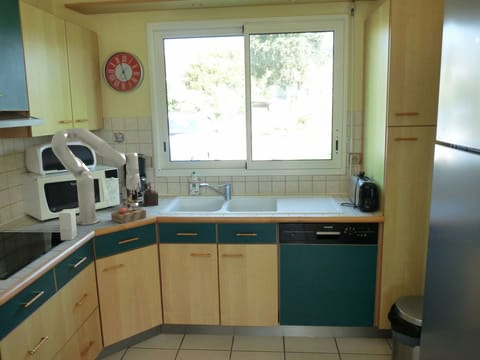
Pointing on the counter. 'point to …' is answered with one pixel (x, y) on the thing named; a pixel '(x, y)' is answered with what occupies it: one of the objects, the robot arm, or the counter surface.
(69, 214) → the skincare box
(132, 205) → the grey plunger
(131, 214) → the button box
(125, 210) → the red plunger
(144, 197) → the brown storage container
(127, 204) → the coffee box
